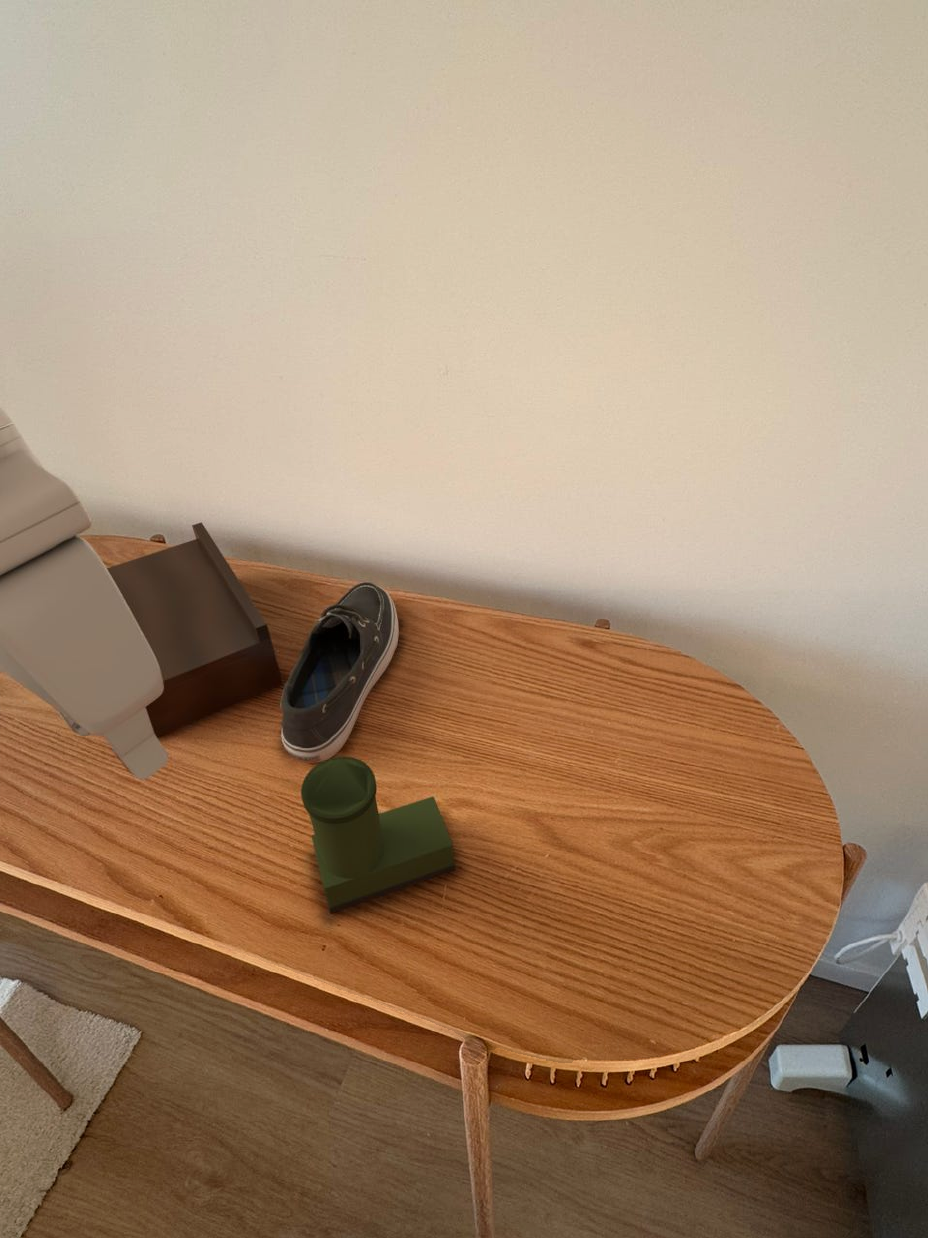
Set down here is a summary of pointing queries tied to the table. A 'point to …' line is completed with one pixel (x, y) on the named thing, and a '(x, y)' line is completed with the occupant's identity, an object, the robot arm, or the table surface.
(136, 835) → the table surface
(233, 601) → the shoe bench
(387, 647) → the boat shoe
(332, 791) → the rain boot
